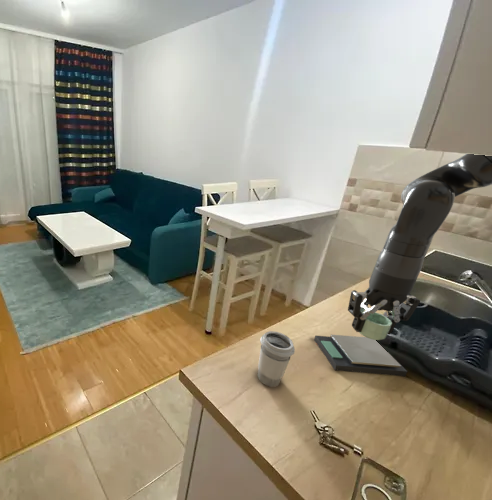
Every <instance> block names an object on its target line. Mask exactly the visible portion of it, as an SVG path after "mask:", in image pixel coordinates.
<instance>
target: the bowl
mask: <svg viewBox="0 0 492 500" xmlns="http://www.w3.org/2000/svg"><path fill="white" fill-rule="evenodd" d="M364 312H365V310H364V311H363V312H362V313H364ZM387 317H388V316H387V315H383V314H382V313H380V312H377V311H376V312H375V313H374V314H370V315H369V316H368V317H367V318H366V319H365V320H366V321H365V323H364V326H363V328H362V331H361V332H358V333H359V334H360V335H362V337H367V338H370V339H373V340H377V341H381V340H385V339H386V338H387V336H388V335H387V334H388V332H389V330H390V327H391V325H392V322H391V320H390V319H389V318H387Z"/></svg>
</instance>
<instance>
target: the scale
mask: <svg viewBox="0 0 492 500" xmlns="http://www.w3.org/2000/svg"><path fill="white" fill-rule="evenodd" d="M313 341H314V343H315V344H316V345H317V347H318V348H319V350H320V351H321V353H322V354H323V355H324V357H325V359H327V361H328V363H329V364H330V365H331V367H332V369H333V370H334V371H339V372H349V373H350V372H351V373H361V374H362V373H363V374H373V375H375V374H376V375H385V376H386V375H387V376H398V377H406V375H407V373H408V370H407V369H406V368H405V367H404V366H403V365H402V364H401V363H400V361H398V360H397V359H396V358H395V357H394V356H393V355H392V354H391V353H390V352H389V351H388V353H389V354H390V355H391V356H392V357H393V358H394V359H395V360H396V361H397V362H398V363H399V364H400V365H401V367H388V366H376V365H365V364H353V363H351V362H350V361H349V360H348V358H347V357H346V356H345V354H344V353H343V352H342V351H341V349H340V348H339V347H338V346H337V344H336V343H335V342H334V340H333V339H332V338H331V337H330V336H328V335H327V336H326V335H314V338H313Z"/></svg>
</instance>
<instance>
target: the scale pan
mask: <svg viewBox="0 0 492 500" xmlns="http://www.w3.org/2000/svg"><path fill="white" fill-rule="evenodd" d="M329 337H331V338H332V339H333V340H334V342H335V343H336V344H337V346H338V347H339V348H340V349H341V351H342V352H343V353H344V354H345V356H346V357H347V358H348V360H349V361H350V362H351V363H353V364H365V365H376V366H388V367H401V365H402V364H401V363H400V362H399V361H398V360H397V359H396V358H395V357H394V356H393V355H392V354H391V353H390V352H389V351H388V350H387V349H386V348H385V347H384V346H383V345H382V344H381V343H380V342H379V341H378V340H377V341H378V342H379V343H380V344H381V345H382V346H383V347H384V348H385V349H386V350H387V351H388V352H389V353H390V354H391V355H392V356H393V357H394V358H395V359H396V360H397V361H398V362H399V363H400V364H401V365H400V364H399V363H398V362H397V361H396V360H395V359H394V358H393V357H392V356H391V355H390V354H389V353H388V352H387V351H386V350H385V349H384V348H383V347H382V346H381V345H380V344H379V343H378V342H377V341H376V340H373V339H370V338H367V337H365V336H353V335H343V334H342V335H341V334H330V335H329Z"/></svg>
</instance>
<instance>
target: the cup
mask: <svg viewBox="0 0 492 500" xmlns="http://www.w3.org/2000/svg"><path fill="white" fill-rule="evenodd" d="M259 342H260V350H259V356H258V357H259V358H258V363H257V378H258V380H259V382H260V383H262V384H263V385H264V386H267V387H269V388H275V387H278V386H280V383H281V380H282V379H283V377H284V374H285V371H286V370H287V367H288V365H289V362H290V360H291V357H292V356H293V355H295V352H296V350H295V346H294V342H293V340H292V339H291V338H290V337H289V336H288V335H286V334H284V333H283V332H278V331H271V330H269V331H267V332H265V333H264V334H263V335H261V337H260V339H259Z"/></svg>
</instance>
